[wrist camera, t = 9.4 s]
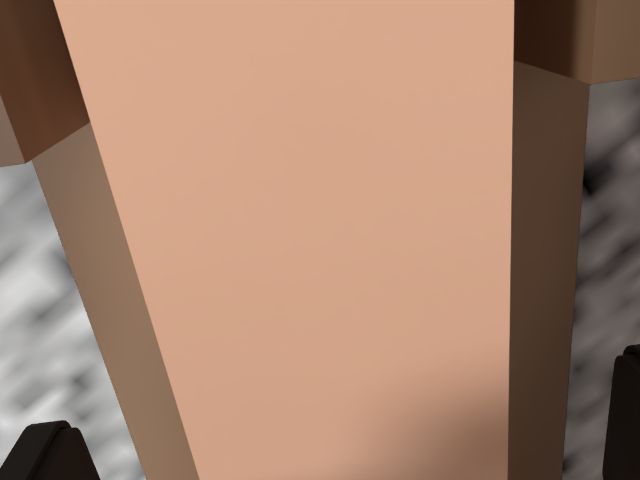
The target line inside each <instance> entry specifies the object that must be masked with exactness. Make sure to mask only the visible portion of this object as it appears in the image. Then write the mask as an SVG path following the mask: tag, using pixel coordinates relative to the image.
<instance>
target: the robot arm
mask: <svg viewBox="0 0 640 480" xmlns="http://www.w3.org/2000/svg"><path fill="white" fill-rule="evenodd" d="M603 479H604V480H640V344H637V345H630V346H627V347H626V348H625V350H624V353H623V355H621V356H617V358H616V359H615V363H614V372H613V381H612V390H611V398H610V407H609V416H608V425H607V434H606V443H605V452H604V461H603ZM0 480H100V478H99V475H98V473H97V470H96V468H95V465H94V463H93V460H92V458H91V455H90V453H89V451H88V448H87V446H86V443H85V441H84V438H83V436H82V433H81V432H80V430H79V429H78V428H71V426H70V424H69V423H68V422H67V421H64V420H61V421H53V422H45V423H38V424H31V425H29V426H27V427H26V428H25V430H24V431H23V432H22V434H21V436H20V437H19V439H18V440H17V442H16V444H15V445H14V447H13V448H12V450H11V452H10V453H9V455H8V457H7V458H6V460H5V461H4V463H3V465H2V466H1V468H0Z"/></svg>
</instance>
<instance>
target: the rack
mask: <svg viewBox="0 0 640 480" xmlns="http://www.w3.org/2000/svg"><path fill="white" fill-rule="evenodd" d="M634 78H640V0H514V49H513V121H512V192H511V264H510V335H509V407H508V478H507V480H562V468H563V454H564V440H565V426H566V412H567V398H568V384H569V370H570V355H571V341H572V327H573V313H574V299H575V285H576V271H577V257H578V242H579V228H580V214H581V200H582V186H583V172H584V158H585V144H586V129H587V115H588V101H589V87H590V84H598V83H605V82H612V81H619V80H626V79H634ZM30 160H32V162H33V165H34V168H35V171H36V173H37V176H38V179H39V182H40V184H41V187H42V190H43V193H44V196H45V198H46V201H47V204H48V207H49V209H50V212H51V215H52V218H53V221H54V223H55V226H56V229H57V232H58V235H59V237H60V240H61V243H62V246H63V248H64V251H65V254H66V257H67V260H68V262H69V265H70V268H71V271H72V273H73V276H74V279H75V282H76V285H77V287H78V290H79V293H80V296H81V299H82V301H83V304H84V307H85V310H86V312H87V315H88V318H89V321H90V324H91V326H92V329H93V332H94V335H95V337H96V340H97V343H98V346H99V349H100V351H101V354H102V357H103V360H104V363H105V365H106V368H107V371H108V374H109V376H110V379H111V382H112V385H113V388H114V390H115V393H116V396H117V399H118V401H119V404H120V407H121V410H122V413H123V415H124V418H125V421H126V424H127V427H128V429H129V432H130V435H131V438H132V440H133V443H134V446H135V449H136V452H137V454H138V457H139V460H140V463H141V466H142V468H143V471H144V474H145V477H146V479H147V480H200V479H199V476H198V472H197V469H196V466H195V463H194V459H193V456H192V453H191V449H190V446H189V443H188V440H187V436H186V433H185V430H184V426H183V423H182V420H181V417H180V413H179V410H178V407H177V404H176V400H175V397H174V394H173V390H172V387H171V384H170V381H169V377H168V374H167V371H166V367H165V364H164V361H163V358H162V354H161V351H160V348H159V345H158V341H157V338H156V335H155V331H154V328H153V325H152V322H151V318H150V315H149V312H148V308H147V305H146V302H145V299H144V295H143V292H142V289H141V285H140V282H139V279H138V276H137V272H136V269H135V266H134V263H133V259H132V256H131V253H130V249H129V246H128V243H127V240H126V236H125V233H124V230H123V226H122V223H121V220H120V217H119V213H118V210H117V207H116V204H115V200H114V197H113V194H112V190H111V187H110V184H109V181H108V177H107V174H106V171H105V167H104V164H103V161H102V158H101V154H100V151H99V148H98V144H97V141H96V138H95V135H94V131H93V128H92V125H91V122H90V118H89V115H88V112H87V108H86V105H85V102H84V99H83V95H82V92H81V89H80V85H79V82H78V79H77V76H76V72H75V69H74V66H73V62H72V59H71V56H70V53H69V49H68V46H67V43H66V40H65V36H64V33H63V30H62V26H61V23H60V20H59V17H58V13H57V10H56V7H55V3H54V0H0V167H4V166H12V165H19V164H25V163H27V162H29V161H30Z"/></svg>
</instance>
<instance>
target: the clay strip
mask: <svg viewBox="0 0 640 480" xmlns="http://www.w3.org/2000/svg"><path fill="white" fill-rule="evenodd" d="M54 3H55V7H56V10H57V13H58V17H59V20H60V23H61V26H62V30H63V33H64V36H65V40H66V43H67V46H68V49H69V53H70V56H71V59H72V62H73V66H74V69H75V72H76V76H77V79H78V82H79V85H80V89H81V92H82V95H83V99H84V102H85V105H86V108H87V112H88V115H89V118H90V122H91V125H92V128H93V131H94V135H95V138H96V141H97V144H98V148H99V151H100V154H101V158H102V161H103V164H104V167H105V171H106V174H107V177H108V181H109V184H110V187H111V190H112V194H113V197H114V200H115V204H116V207H117V210H118V213H119V217H120V220H121V223H122V226H123V230H124V233H125V236H126V240H127V243H128V246H129V249H130V253H131V256H132V259H133V263H134V266H135V269H136V272H137V276H138V279H139V282H140V285H141V289H142V292H143V295H144V299H145V302H146V305H147V308H148V312H149V315H150V318H151V322H152V325H153V328H154V331H155V335H156V338H157V341H158V345H159V348H160V351H161V354H162V358H163V361H164V364H165V367H166V371H167V374H168V377H169V381H170V384H171V387H172V390H173V394H174V397H175V400H176V404H177V407H178V410H179V413H180V417H181V420H182V423H183V426H184V430H185V433H186V436H187V440H188V443H189V446H190V449H191V453H192V456H193V459H194V463H195V466H196V469H197V472H198V476H199V479H200V480H507V478H508V407H509V335H510V264H511V192H512V121H513V49H514V0H54Z"/></svg>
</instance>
